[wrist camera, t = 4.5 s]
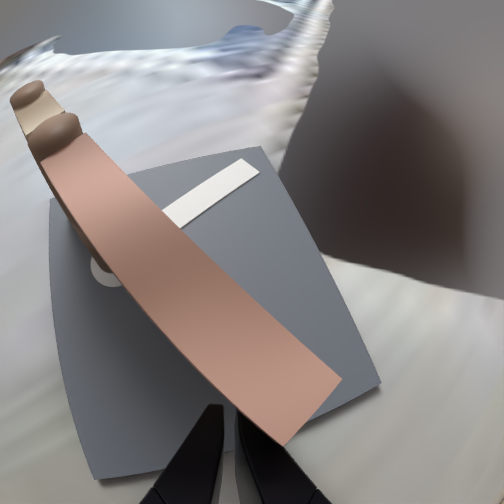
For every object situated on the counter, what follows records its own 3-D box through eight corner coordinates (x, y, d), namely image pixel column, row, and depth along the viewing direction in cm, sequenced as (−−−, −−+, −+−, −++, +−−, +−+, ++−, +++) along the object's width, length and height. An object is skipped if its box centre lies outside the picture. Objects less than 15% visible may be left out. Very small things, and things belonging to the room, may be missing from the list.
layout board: (377, 383, 15) (382, 382, 14) (97, 478, 11) (93, 480, 10) (259, 150, 22) (260, 144, 22) (52, 203, 18) (49, 198, 18)
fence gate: (91, 256, 16) (22, 135, 8) (118, 235, 16) (67, 106, 9) (242, 424, 12) (281, 451, 5) (271, 395, 13) (349, 374, 5)
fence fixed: (115, 235, 17) (62, 104, 9) (92, 253, 16) (23, 129, 8) (84, 194, 18) (38, 77, 10) (63, 209, 17) (7, 96, 9)
